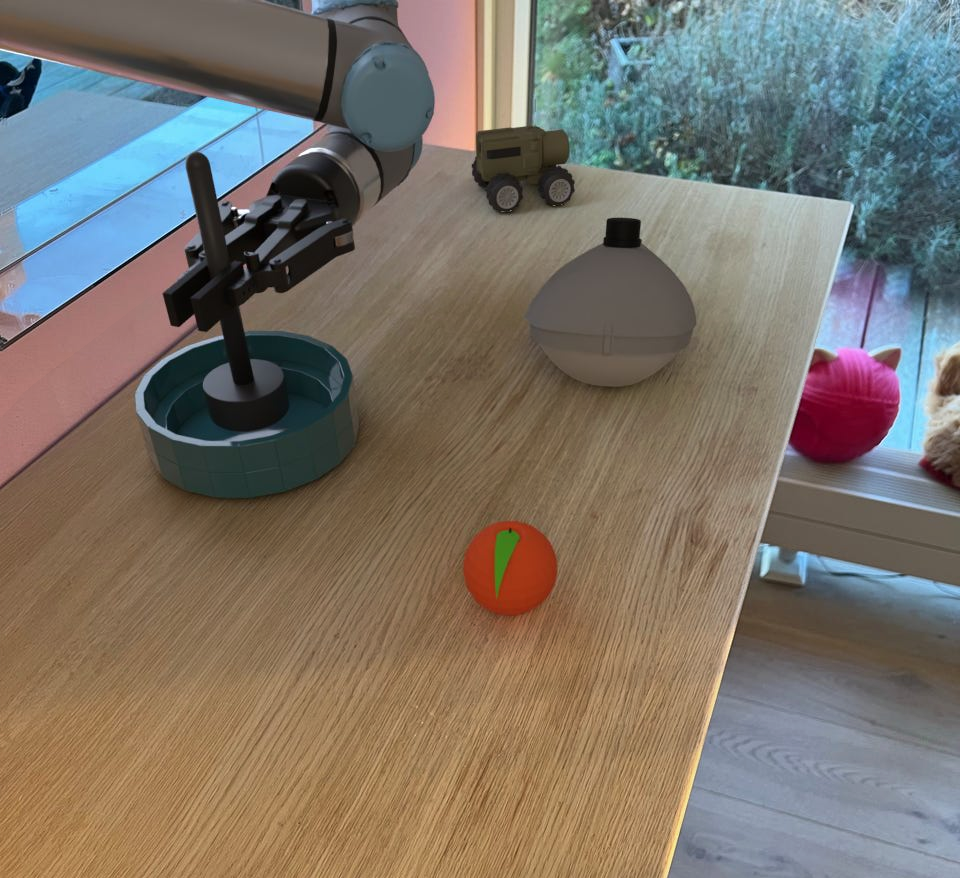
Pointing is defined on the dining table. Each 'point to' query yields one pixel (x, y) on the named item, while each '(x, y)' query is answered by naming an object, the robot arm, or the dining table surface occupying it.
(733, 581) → the dining table surface
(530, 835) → the dining table surface
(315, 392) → the bowl
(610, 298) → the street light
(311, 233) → the robot arm
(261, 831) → the dining table surface
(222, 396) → the black peg stand
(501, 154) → the toy vehicle
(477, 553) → the clementine
